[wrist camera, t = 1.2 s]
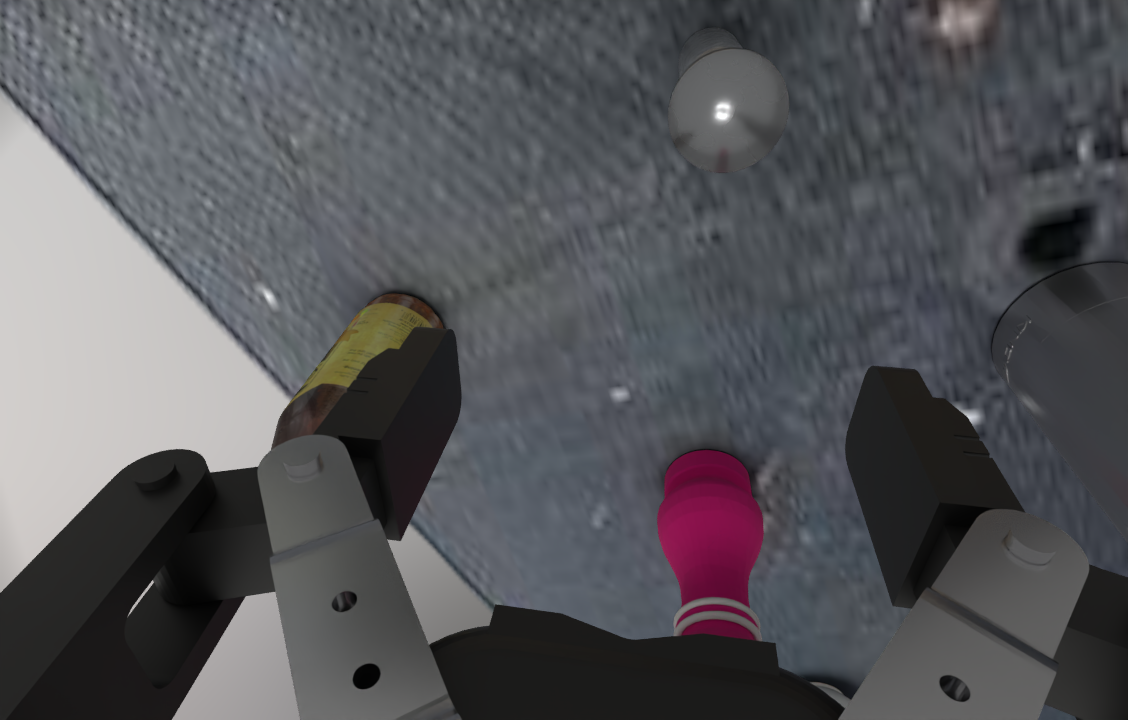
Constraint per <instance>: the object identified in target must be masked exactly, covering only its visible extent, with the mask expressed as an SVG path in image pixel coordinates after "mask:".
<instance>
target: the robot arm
mask: <svg viewBox="0 0 1128 720" xmlns="http://www.w3.org/2000/svg"><path fill="white" fill-rule="evenodd" d="M992 357H993V362H994V364H995V367H996V369H997V371H998V373H999V374H1000V375H1001V377H1002V378H1003V379H1004V381H1005V382H1006V383H1007V385H1008V386H1009V387H1010V389H1011V390H1012V391H1013V393H1014V394H1015V395H1016V396H1017V398H1018V399H1019V400H1020V402H1021V403H1022V404H1023V406H1024V407H1025V408H1026V410H1027V411H1028V413H1029V414H1030V415H1031V417H1032V418H1033V419H1034V421H1035V422H1036V423H1037V425H1038V426H1039V427H1040V429H1041V430H1042V431H1043V433H1044V434H1045V435H1046V436H1047V438H1048V439H1049V440H1050V442H1051V443H1052V444H1053V446H1054V447H1055V448H1056V450H1057V451H1058V452H1059V454H1060V455H1061V456H1062V457H1063V459H1064V460H1065V461H1066V463H1067V464H1068V465H1069V467H1070V468H1071V469H1072V471H1073V472H1074V473H1075V474H1076V476H1077V477H1078V478H1079V480H1080V481H1081V482H1082V484H1083V485H1084V486H1085V488H1086V489H1087V490H1088V492H1089V493H1090V494H1091V495H1092V497H1093V498H1094V499H1095V501H1096V502H1097V503H1098V505H1099V506H1100V507H1101V509H1102V510H1103V511H1104V513H1105V514H1106V515H1107V516H1108V518H1109V519H1110V520H1111V522H1112V523H1113V524H1114V526H1115V527H1116V528H1117V530H1118V531H1119V532H1120V534H1121V535H1122V536H1123V537H1124V539H1125V540H1126V541H1127V543H1128V264H1125V263H1095V264H1089V265H1083V266H1079V267H1076V268H1072V269H1069V270H1066V271H1063V272H1060V273H1058V274H1056V275H1054V276H1052V277H1050V278H1048V279H1046V280H1044V281H1042V282H1040V283H1039V284H1037V285H1036V286H1034V287H1033V288H1031V289H1030V290H1029V291H1027V292H1026V293H1024V294H1023V295H1022V296H1021V297H1020V298H1019V299H1018V300H1017V301H1016V302H1015V303H1014V304H1013V305H1012V306H1011V307H1010V308H1009V309H1008V311H1007V312H1006V314H1005V315H1004V316H1003V318H1002V319H1001V321H1000V323H999V325H998V327H997V329H996V331H995V333H994V338H993V343H992ZM460 408H461V384H460V374H459V364H458V354H457V344H456V337H455V334H454V331H453V330H451V329H441V328H430V327H418V326H417V327H414V328H413V329H412V331H411V332H410V334H409V335H408V337H407V338H406V339H405V341H404V342H403V344H402V345H401V346H400V348H399V349H394V348H388V349H386V350H385V351H383V352H381V353H380V354H378V355H377V356H375V357H374V358H372V359H370V360H369V361H368V362H367V363H366V365H365V366H364V367H363V369H362V370H361V371H360V372H359V374H358V375H357V376H356V380H353V382H352V383H351V384H350V386H349V387H348V388H347V392H346V393H344V394H343V395H342V396H341V398H340V399H339V400H338V402H337V403H336V404H335V405H334V407H333V408H332V409H331V411H330V412H329V413H328V415H327V416H326V417H325V419H324V420H323V421H322V423H321V424H320V425H319V427H318V428H317V429H316V431H315V432H314V433H313V435H307V436H301V437H297V438H294V439H291V440H288V441H286V442H284V443H282V444H280V445H278V446H277V447H275V448H274V449H272V450H271V451H270V452H269V453H268V454H266V456H265V457H264V458H263V459H262V461H261V462H260V464H259V466H258V467H253V468H245V469H237V470H228V471H221V472H212V473H210V471H209V469H208V466H207V464H206V461H205V459H204V458H203V457H202V456H201V455H200V454H198V453H197V452H194V451H191V450H184V449H175V450H166V451H161V452H158V453H154V454H151V455H148V456H146V457H143V458H141V459H139V460H137V461H135V462H133V463H131V464H130V465H128V466H127V467H125V468H124V469H123V470H121V471H120V472H119V473H118V474H117V475H116V476H115V477H114V478H113V479H112V480H111V481H110V482H109V483H108V484H107V485H106V486H105V487H104V488H103V489H102V490H101V491H100V492H99V493H98V494H97V495H96V496H95V497H94V498H93V499H92V500H91V501H90V502H89V503H88V504H87V505H86V506H85V508H83V510H81V512H79V513H78V514H77V515H76V516H75V518H74V519H73V520H72V521H71V522H70V523H69V524H68V525H67V526H66V527H65V528H64V529H63V530H62V531H61V532H60V533H59V534H58V535H57V536H56V537H55V538H54V539H53V540H52V541H51V542H50V543H49V544H48V545H47V546H46V547H45V548H44V549H43V550H42V551H41V552H40V553H39V554H38V555H37V556H36V557H35V558H34V559H33V560H32V562H30V564H28V566H27V567H26V568H24V569H23V571H22V572H21V573H20V574H19V575H18V576H17V577H16V578H15V579H14V580H13V581H12V582H11V583H10V584H9V585H8V586H7V587H6V588H5V589H4V590H3V591H2V592H1V593H0V720H172V718H173V717H174V715H175V713H176V712H177V710H178V708H179V707H180V705H181V703H182V702H183V700H184V698H185V697H186V695H187V693H188V692H189V690H190V688H191V687H192V685H193V683H194V682H195V680H196V678H197V677H198V675H199V673H200V672H201V670H202V668H203V667H204V665H205V663H206V662H207V660H208V658H209V657H210V655H211V653H212V652H213V650H214V648H215V647H216V645H217V643H218V642H219V640H220V638H221V636H222V635H223V633H224V631H225V630H226V628H227V627H228V625H229V623H230V622H231V620H232V618H233V616H234V615H235V613H236V612H237V610H238V608H239V607H240V605H241V603H242V601H243V600H244V598H245V597H246V596H250V595H256V594H262V593H269V592H276V597H277V602H278V607H279V612H280V617H281V623H282V627H283V633H284V638H285V643H286V648H287V654H288V659H289V664H290V669H291V674H292V680H293V685H294V689H295V695H296V701H297V706H298V711H299V716H300V720H1038V717H1039V715H1040V712H1041V710H1042V707H1043V705H1044V704H1046V705H1048V706H1051V707H1053V708H1055V709H1058V710H1060V711H1063V712H1065V713H1068V714H1070V715H1073V716H1075V717H1076V719H1077V720H1128V577H1125V576H1122V575H1118V574H1115V573H1112V572H1109V571H1106V570H1103V569H1100V568H1098V567H1095V566H1092V565H1089V562H1088V560H1087V557H1086V555H1085V553H1084V552H1083V550H1082V549H1081V548H1080V546H1079V545H1078V544H1077V543H1076V542H1075V541H1074V540H1073V539H1072V538H1071V537H1070V536H1069V535H1067V534H1066V533H1065V532H1063V531H1062V530H1061V529H1059V528H1058V527H1056V526H1054V525H1053V524H1051V523H1049V522H1047V521H1045V520H1043V519H1041V518H1039V517H1036V516H1034V515H1031V514H1028V513H1025V511H1024V509H1023V508H1022V506H1021V505H1020V503H1019V501H1018V500H1017V498H1016V496H1015V495H1014V493H1013V491H1012V490H1011V488H1010V486H1009V485H1008V483H1007V482H1006V480H1005V478H1004V477H1003V475H1002V473H1001V472H1000V470H999V468H998V467H997V465H996V463H995V462H994V460H993V459H992V458H989V455H990V454H989V452H988V450H987V449H986V447H985V445H984V444H983V442H982V441H979V438H980V437H979V436H978V434H977V432H976V431H975V429H974V427H973V426H972V424H971V422H970V421H969V419H968V418H967V417H966V416H965V415H964V414H963V413H962V412H960V411H959V410H958V409H957V408H955V407H954V406H953V405H952V404H950V403H949V402H948V401H947V400H946V399H943V398H933V397H932V395H931V394H930V392H929V390H928V388H927V386H926V385H925V383H924V381H923V379H922V378H921V376H920V374H919V373H918V371H917V370H915V369H905V368H893V367H881V366H871V367H870V368H869V369H868V370H867V372H866V374H865V377H864V380H863V383H862V386H861V390H860V393H859V396H858V399H857V402H856V405H855V409H854V412H853V415H852V418H851V421H850V424H849V428H848V431H847V436H846V444H845V453H846V461H847V465H848V468H849V471H850V474H851V477H852V480H853V484H854V487H855V490H856V493H857V496H858V499H859V502H860V505H861V508H862V512H863V515H864V518H865V521H866V524H867V527H868V530H869V533H870V536H871V540H872V543H873V546H874V549H875V552H876V555H877V558H878V561H879V565H880V568H881V571H882V574H883V577H884V580H885V583H886V586H887V589H888V593H889V596H890V599H891V602H892V605H893V606H896V607H904V608H911V611H910V612H909V614H908V615H907V617H906V618H905V620H904V621H903V623H902V624H901V626H900V627H899V629H898V630H897V632H896V633H895V635H894V636H893V638H892V639H891V641H890V642H889V644H888V645H887V647H886V648H885V650H884V651H883V653H882V654H881V656H880V657H879V659H878V660H877V662H876V663H875V665H874V666H873V668H872V669H871V671H870V672H869V674H868V675H867V677H866V678H865V680H864V681H863V683H862V684H861V686H860V687H859V689H858V690H857V692H856V693H855V695H854V696H853V698H852V699H851V701H850V702H849V704H848V705H847V707H846V708H844V707H843V706H842V705H841V704H840V703H838V702H837V701H836V700H834V699H833V698H832V697H831V696H829V695H828V694H827V693H825V692H824V691H823V690H821V689H820V688H818V687H816V686H815V685H813V684H812V683H810V682H808V681H807V680H805V679H803V678H801V677H799V676H797V675H795V674H793V673H791V672H789V671H787V670H784V669H782V668H779V666H778V659H777V651H776V644H775V643H770V642H763V641H756V640H749V639H741V638H734V637H727V636H720V635H712V634H705V633H702V634H691V635H681V636H671V637H661V638H650V639H640V640H631V639H626V638H623V637H620V636H618V635H615V634H613V633H610V632H607V631H605V630H602V629H600V628H597V627H595V626H592V625H589V624H587V623H584V622H582V621H579V620H577V619H574V618H571V617H569V616H566V615H564V614H561V613H554V612H546V611H539V610H532V609H525V608H518V607H510V606H503V605H496V604H495V608H494V611H493V615H492V618H491V622H490V625H489V626H483V627H477V628H472V629H468V630H464V631H460V632H457V633H454V634H452V635H449V636H446V637H444V638H442V639H440V640H438V641H436V642H433V643H431V644H430V645H429V644H428V641H427V639H426V636H425V634H424V631H423V629H422V626H421V624H420V621H419V619H418V616H417V614H416V611H415V609H414V606H413V604H412V601H411V598H410V596H409V593H408V591H407V588H406V586H405V583H404V581H403V578H402V576H401V573H400V571H399V568H398V566H397V563H396V561H395V558H394V556H393V553H392V551H391V548H390V546H389V543H388V541H387V539H389V540H397V541H401V539H402V537H403V535H404V533H405V530H406V528H407V526H408V524H409V522H410V520H411V518H412V516H413V514H414V512H415V510H416V507H417V505H418V503H419V501H420V499H421V497H422V495H423V493H424V491H425V488H426V486H427V484H428V482H429V480H430V478H431V476H432V474H433V471H434V469H435V467H436V465H437V463H438V461H439V459H440V457H441V455H442V452H443V450H444V448H445V446H446V444H447V442H448V440H449V438H450V436H451V433H452V431H453V429H454V427H455V425H456V423H457V420H458V417H459V413H460ZM152 580H153V581H154V583H153V585H152V586H151V587H150V589H149V590H148V591H147V592H146V594H145V595H144V596H143V598H142V599H141V600H140V602H139V603H138V604H137V606H136V607H135V608H134V610H133V611H132V612H131V614H130V615H129V616H128V614H129V612H130V610H131V608H132V606H133V605H134V604H135V602H136V601H137V600H138V598H139V597H140V596H141V594H142V593H143V592H144V590H145V589H146V588H147V586H148V585H149V584H150V583H151V581H152ZM127 617H128V618H127Z"/></svg>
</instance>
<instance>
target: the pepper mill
mask: <svg viewBox="0 0 1128 720" xmlns="http://www.w3.org/2000/svg"><path fill="white" fill-rule="evenodd" d="M657 524H658V534H659V539H660V542H661V545H662V548H663V551H664V553H665V556H666V558H667V559H668V561H669V563H670V565H671V567H672V569H673V571H674V573H675V575H676V577H677V579H678V582H679V585H680V589H681V599H682V607H681V608H680V609H679V610H678V612H677V613H676V615H675V617H674V629H675V631H674V636H681V635H691V634H702V633H705V634H712V635H720V636H727V637H734V638H741V639H749V640H756V641H762V636H761V634H760V621H759V619H758V617H757V615H756V614H755V613H754V612H753V611H752V610H751V609H750V606H749V601H748V580H749V575H750V572H751V570H752V568H753V566H754V564H755V561H756V559H757V557H758V555H759V552H760V549H761V545H762V541H763V535H764V531H763V517H762V512H761V510H760V508H759V505H758V503H757V502H756V501H755V499H754V498H753V497H752V492H751V485H750V479H749V474H748V472H747V470H746V468H745V467H744V466H743V465H742V463H741V462H739V461H738V460H737V459H736V458H734V457H732V456H730V455H728V454H726V453H723V452H720V451H712V450H700V451H693V452H690V453H687V454H685V455H683V456H681V457H680V458H678V459H676V460H675V461H674V462H673V463H672V464H671V465H670V467H669V468H668V470H667V472H666V475H665V499H664V500H663V502H662V504H661V505H660V508H659V512H658V516H657Z"/></svg>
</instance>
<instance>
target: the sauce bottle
mask: <svg viewBox="0 0 1128 720" xmlns="http://www.w3.org/2000/svg"><path fill="white" fill-rule="evenodd" d="M417 326H418V327H430V328H441V329H444V328H443V325H442V323H441V321H440V320H439V318H438V316H437V315H436V314H435V313H434V311H433V310H432V309H431V308H430V307H429V306H427V305H426V304H425V303H424V302H422V301H420V300H419V299H417V298H416V297H411V296H409V295H405V294H397V293H394V294H386V295H382V296H380V297H378V298H376V299H375V300H373V301H371V302H370V303H368V305H367V306H366V307H365V308H364V309H362V310H361V311H360V312H359V313H358V314H357V315H356V316H355V318H354V319H353V320H352V322H351V323H350V324H349V326H348V327H347V328H346V330H345V331H344V332H343V334H342V335H341V336H340V338H339V339H338V340H337V341H336V343H335V344H334V345H333V347H332V348H331V349H330V350H329V352H328V353H327V354H326V356H325V357H324V358H323V360H322V361H321V362H320V364H319V365H318V366H317V367H316V369H315V370H314V371H313V373H312V374H311V375H310V376H309V378H308V379H307V381H306V382H305V383H304V385H303V386H302V387H301V389H300V390H299V391H298V392H297V394H296V395H295V396H294V398H293V399H292V400H291V402H290V403H289V404H288V406H287V407H286V408H285V410H284V411H283V413H282V414H281V416H280V418H279V421H278V424H277V428H276V432H275V436H274V440H273V444H272V448H271V450H272V449H274V448H275V447H277V446H278V445H280V444H282V443H284V442H286V441H288V440H291V439H294V438H297V437H301V436H307V435H313V433H314V432H315V431H316V429H317V428H318V427H319V425H320V424H321V423H322V421H323V420H324V419H325V417H326V416H327V415H328V413H329V412H330V411H331V409H332V408H333V407H334V405H335V404H336V403H337V402H338V400H339V399H340V398H341V396H342V395H343V394H344V393H346V392H347V388H348V387H349V386H350V384H351V383H352V382H353V380H356V376H357V375H358V374H359V372H360V371H361V370H362V369H363V367H364V366H365V365H366V363H367V362H368V361H369V360H370V359H372V358H374V357H375V356H377V355H378V354H380V353H381V352H383V351H385V350H386V349H388V348H394V349H399V348H400V346H401V345H402V344H403V342H404V341H405V339H406V338H407V337H408V335H409V334H410V332H411V331H412V329H413V328H414V327H417Z"/></svg>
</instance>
